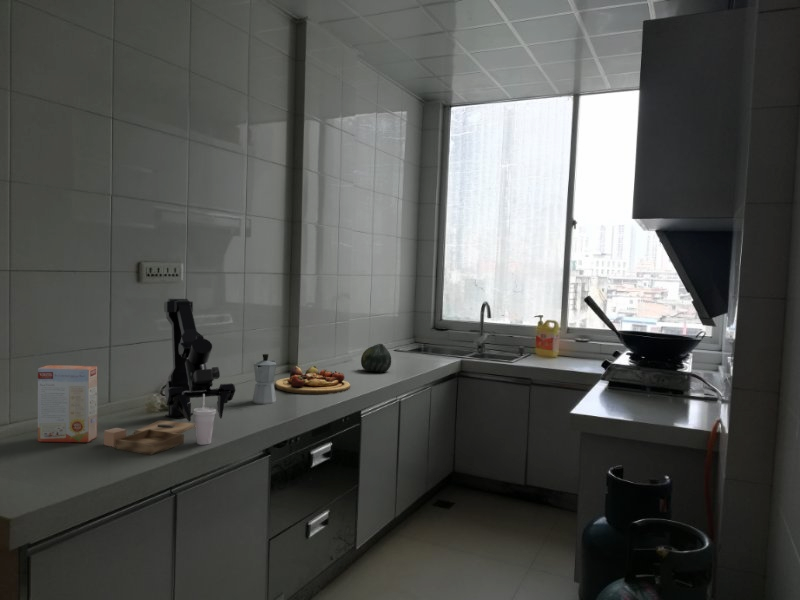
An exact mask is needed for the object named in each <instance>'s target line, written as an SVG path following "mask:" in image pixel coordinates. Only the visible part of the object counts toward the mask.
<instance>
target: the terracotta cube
mask: <svg viewBox="0 0 800 600" xmlns="http://www.w3.org/2000/svg"><path fill="white" fill-rule="evenodd" d="M125 436H127V429H124V428H119V427H113V428H110V429H106V430H103V445H104V446H108V447H111V446H112V448H116V447H115V446H116V439H119V438H122V437H125Z"/></svg>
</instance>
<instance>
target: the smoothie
mask: <svg viewBox="0 0 800 600" xmlns="http://www.w3.org/2000/svg"><path fill="white" fill-rule="evenodd" d="M205 398H206V397H205V394H203V397H202V406H200V407H196V408H193V410H192V413H193V419H194V424H195V426H194V427H195V435H196V444H197V445H201V446H203V445H209V444H211V443H212V436H213V430H214V423H215V416H216V414H217V408H216V407H211V406H206V403H205V402H206V399H205Z"/></svg>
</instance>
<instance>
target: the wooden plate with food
mask: <svg viewBox="0 0 800 600" xmlns="http://www.w3.org/2000/svg"><path fill="white" fill-rule="evenodd" d="M289 376H290V377H286V378H285V377H284V378H281V379H277V380H276V381H275V383H274V388H277V390H280V391H283V392H287V393H292V394H293V393H295V394H302V395H303V394H304V395H329V394H328V393H333V394H338V393H337V392H340V393H343V392H342V391H344V392H346V390H347V391H349V390H350V388H351V384H350V383H349V381H346V380H345V375H344V373H341V372H337V371H336V370H334V372H333V371H328V370H327V369H322V370H320V371H319V370H318V368H316V367H315V366H311V367H309V368H308V369H307V370H306V371H305V373H303V370H302V369H301V368H300V367H298V366H294V367H293V368H291V370H290V372H289ZM348 389H349V390H348Z"/></svg>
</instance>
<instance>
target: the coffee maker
mask: <svg viewBox="0 0 800 600" xmlns="http://www.w3.org/2000/svg"><path fill="white" fill-rule="evenodd" d="M262 359H263V360H259V361H256V362H254V363H253V367H254V368H253V370H254V376H255V382H256V383H255V386H254V390H253V396H252V402H253V404H256V405H258V404H259V405H271V404H270V403H272V404H275V403H276V402H277V399H276V391H275V383H273V382H274V381H275V375H276V369H277V362H275V360H268V359H269V353H263V354H262Z"/></svg>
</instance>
